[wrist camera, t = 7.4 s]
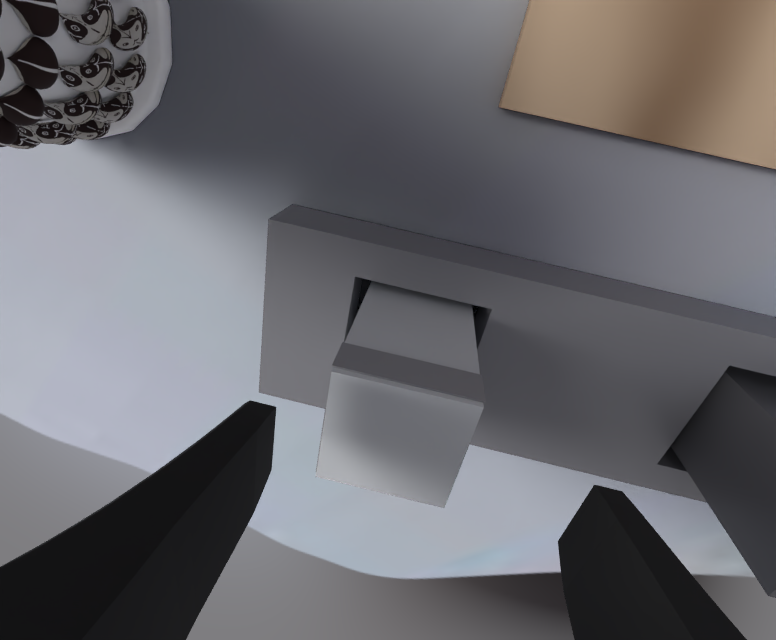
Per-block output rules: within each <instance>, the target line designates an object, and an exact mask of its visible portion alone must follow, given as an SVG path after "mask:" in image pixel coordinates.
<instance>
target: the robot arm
mask: <svg viewBox="0 0 776 640" xmlns="http://www.w3.org/2000/svg"><path fill="white" fill-rule="evenodd" d="M275 416H276V407H274V406H270V405H266V404H262V403H258V402H254V401H248V402H247V403H245V404H244V405H242V406H241V407H240V408H239V409H237V410H236V411H235V412H234V413H232V414H231V415H230V416H229V417H228V418H226V419H225V420H224V421H223V422H221V423H220V424H219V425H218V426H216V427H215V428H214V429H212V430H211V431H210V432H209V433H207V434H206V435H205V436H203V437H202V438H201V439H200V440H198V441H197V442H196V443H194V444H193V445H192V446H190V447H189V448H188V449H186V450H185V451H184V452H182V453H181V454H179V455H178V456H177V457H175V458H174V459H173V460H171V461H170V462H169V463H167V464H166V465H165V466H163V467H162V468H160V469H159V470H158V471H156V472H155V473H153V474H152V475H150V476H149V477H147V478H146V479H144V480H143V481H141V482H140V483H138V484H137V485H135V486H134V487H133V488H131V489H130V490H128V491H127V492H125V493H124V494H122V495H121V496H119V497H118V498H116V499H115V500H113V501H112V502H111V503H109V504H107V505H105V506H104V507H102V508H101V509H99V510H98V511H96V512H94V513H93V514H91V515H90V516H88V517H86V518H85V519H84V520H81V521H80V522H78V523H77V524H75V525H73V526H71V527H70V528H68V529H66V530H65V531H63V532H61V533H60V534H58V535H56V536H55V537H53V538H51V539H50V540H48V541H46V542H45V543H43V544H41V545H39V546H37V547H35V548H34V549H32V550H30V551H28V552H27V553H25V554H23V555H21V556H19V557H18V558H16V559H14V560H12V561H10V562H8V563H7V564H5V565H3V566H1V567H0V640H186V638H187V636H188V634H189V632H190V630H191V628H192V626H193V624H194V622H195V621H196V619H197V617H198V615H199V613H200V611H201V609H202V607H203V606H204V604H205V602H206V600H207V598H208V596H209V595H210V593H211V591H212V589H213V587H214V585H215V584H216V582H217V580H218V578H219V576H220V574H221V573H222V571H223V569H224V567H225V565H226V563H227V562H228V560H229V558H230V556H231V554H232V552H233V551H234V549H235V547H236V545H237V543H238V541H239V539H240V538H241V536H242V534H243V532H244V530H245V528H246V526H247V525H248V523H249V521H250V519H251V517H252V515H253V513H254V511H255V508H256V506H257V504H258V501H259V499H260V497H261V494H262V492H263V489H264V487H265V484H266V482H267V480H268V477H269V475H270V472H271V469H272V456H273V443H274V429H275ZM558 546H559V556H560V566H561V574H562V581H563V590H564V595H565V599H566V604H567V609H568V613H569V617H570V622H571V626H572V630H573V635H574V639H575V640H747V639H746V638H745V637H744V636H743V635H742V634H741V633H740V632H739V630H738V629H737V628H736V627H735V626H734V625H733V623H732V622H731V621H730V620H729V619H728V618H727V616H726V615H725V614H724V613H723V612H722V611H721V610H720V608H719V607H718V606H717V605H716V603H715V602H714V601H713V600H712V599H711V598H710V596H708V594H707V593H706V592H705V590H704V589H703V588H702V587H701V586H700V584H699V583H698V582H697V581H696V580H695V578H694V577H693V576H692V575H691V574H690V572H689V571H688V570H687V569H686V568H685V566H684V565H683V564H682V563H681V561H680V560H679V559H678V558H677V557H676V555H675V554H674V553H673V552H672V550H671V549H670V548H669V547H668V546H667V544H666V543H665V542H664V541H663V539H662V538H661V537H660V536H659V535H658V533H657V532H656V531H655V530H654V528H653V527H652V526H651V525H650V524H649V522H648V521H647V520H646V519H645V518H644V516H643V515H642V514H641V513H640V512H639V510H638V509H637V508H636V507H635V506H634V504H633V503H632V502H631V501H630V500H629V499H628V498H627V496H626V495H625V494H624V493H623V492H622V491H618V490H614V489H610V488H606V487H602V486H598V485H594V486H593V488H592V489H591V491H590V492H589V494H588V496H587V497H586V499H585V500H584V502H583V503H582V505H581V506H580V508H579V509H578V511H577V513H576V514H575V516H574V517H573V519H572V520H571V522H570V523H569V525H568V527H567V528H566V530H565V531H564V533H563V534H562V536H561V537H560V539H559V541H558Z"/></svg>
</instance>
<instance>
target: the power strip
mask: <svg viewBox="0 0 776 640" xmlns="http://www.w3.org/2000/svg"><path fill="white" fill-rule="evenodd" d="M362 279H367V280H371V281H375V282H380V283H384V284H388V285H392V286H396V287H401V288H405V289H409V290H413V291H418V292H422V293H426V294H430V295H434V296H439V297H443V298H447V299H451V300H455V301H460V302H464V303H468V304H472V305H477V306H479V307H478V310H477V313H476V316H475V319H474V327H475V335H476V344H477V353H478V362H479V370H480V374H481V375H482V376H483V384H484V392H485V400H486V402H485V405H484V408H483V411H482V413H481V416H480V419H479V421H478V424H477V426H476V429H475V431H474V434H473V436H472V439H471V441H470V444H471V445H475V446H479V447H483V448H487V449H491V450H495V451H499V452H503V453H507V454H511V455H515V456H519V457H524V458H528V459H532V460H536V461H540V462H544V463H548V464H552V465H556V466H560V467H564V468H568V469H572V470H576V471H581V472H585V473H589V474H593V475H597V476H601V477H605V478H609V479H613V480H617V481H621V482H625V483H629V484H633V485H638V486H642V487H646V488H650V489H654V490H658V491H662V492H666V493H670V494H674V495H678V496H682V497H686V498H690V499H694V500H699V501H703V502H707V501H706V500H705V498H704V496H703V495H702V493H701V492H700V490H699V489H698V487H697V486H696V484H695V483H694V481H693V480H692V478H691V476H690V475H689V473H688V472H687V470H686V469H685V467H684V466H683V464H682V463H681V461H680V460H679V458H678V456H677V455H676V453H675V452H674V450H673V449H672V447H671V445H672V443H673V442H674V440H675V439H676V438H677V436H678V435H679V434H680V432H681V431H682V430H683V428H684V427H685V425H686V424H687V423H688V421H689V420H690V419H691V417H692V416H693V415H694V413H695V412H696V410H697V409H698V408H699V406H700V405H701V404H702V402H703V401H704V400H705V398H706V397H707V395H708V394H709V393H710V391H711V390H712V389H713V387H714V386H715V385H716V383H717V382H718V381H719V379H720V378H721V376H722V375H723V374H724V372H725V371H726V370H727V368H728V367H729V366H734V367H738V368H742V369H746V370H751V371H755V372H759V373H763V374H767V375H772V376H776V317H772V316H768V315H764V314H759V313H755V312H751V311H747V310H742V309H738V308H734V307H730V306H725V305H721V304H717V303H712V302H708V301H704V300H700V299H695V298H691V297H687V296H682V295H678V294H674V293H670V292H665V291H661V290H657V289H653V288H648V287H644V286H640V285H635V284H631V283H627V282H623V281H618V280H614V279H610V278H605V277H601V276H597V275H593V274H588V273H584V272H580V271H575V270H571V269H567V268H563V267H558V266H554V265H550V264H546V263H541V262H537V261H533V260H528V259H524V258H520V257H516V256H511V255H507V254H503V253H498V252H494V251H490V250H486V249H481V248H477V247H473V246H468V245H464V244H460V243H456V242H451V241H447V240H443V239H439V238H434V237H430V236H426V235H421V234H417V233H413V232H409V231H404V230H400V229H396V228H391V227H387V226H383V225H379V224H374V223H370V222H366V221H362V220H357V219H353V218H349V217H344V216H340V215H336V214H332V213H327V212H323V211H319V210H314V209H310V208H306V207H302V206H297V205H293V204H292V205H290V206H289V207H287V208H285V209H284V210H282V211H281V212H279V213H278V214H276V215H274V216H273V217H271V218H270V219H269V220H268V238H267V256H266V274H265V292H264V310H263V328H262V346H261V364H260V382H259V393H263V394H267V395H271V396H275V397H279V398H283V399H288V400H292V401H296V402H300V403H304V404H308V405H312V406H316V407H320V408H324V409H325V408H326V401H327V394H328V388H329V381H330V374H331V368H332V364H333V362H334V359H335V357H336V355H337V353H338V351H339V348H340V346H341V344H342V342H345V340H346V338H347V336H348V333H349V331H350V329H351V327H352V324H353V322H354V320H355V318H356V313H357V307H358V302H359V296H360V291H361V285H362Z"/></svg>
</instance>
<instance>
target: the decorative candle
mask: <svg viewBox="0 0 776 640" xmlns="http://www.w3.org/2000/svg"><path fill="white" fill-rule="evenodd" d="M171 66H172V40H171V15H170V6H169V3H168V0H0V147H5V146H10V147H13V148H18V149H29V148H34V147H36V146H37V145H39V144H40V143H46V144H59V145H66V144H71V143H72V142H74V141H75V140H76V139H82V140H94V139H99V138H104V137H108V136H112V135H117V134H121V133H125V132H130V131H133V130H134V129H135V128H136V127H137V126H138V125H139V124H140V123H141V122H142V121H143V120H144V119H145V118H146V117H147V116H148V115H149V114H150V113H151V112H152V111H153V110H154V109H155V108H156V107H157V106H158V105H159V103H160V100H161V96H162V93H163V90H164V87H165V84H166V81H167V78H168V75H169V72H170V69H171Z"/></svg>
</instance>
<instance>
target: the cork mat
mask: <svg viewBox="0 0 776 640" xmlns="http://www.w3.org/2000/svg"><path fill="white" fill-rule="evenodd" d="M499 107H500V108H504V109H509V110H513V111H518V112H522V113H527V114H531V115H535V116H540V117H544V118H549V119H553V120H558V121H562V122H567V123H571V124H575V125H580V126H584V127H589V128H593V129H598V130H602V131H607V132H611V133H615V134H620V135H624V136H629V137H633V138H638V139H642V140H647V141H651V142H655V143H660V144H664V145H669V146H673V147H678V148H682V149H687V150H691V151H695V152H700V153H704V154H709V155H713V156H718V157H722V158H727V159H731V160H736V161H740V162H744V163H749V164H753V165H758V166H762V167H767V168H771V169H776V0H529V4H528V7H527V11H526V14H525V18H524V21H523V24H522V28H521V31H520V35H519V38H518V42H517V45H516V48H515V52H514V55H513V59H512V62H511V66H510V69H509V73H508V76H507V79H506V83H505V86H504V90H503V93H502V97H501V100H500V103H499Z"/></svg>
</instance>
